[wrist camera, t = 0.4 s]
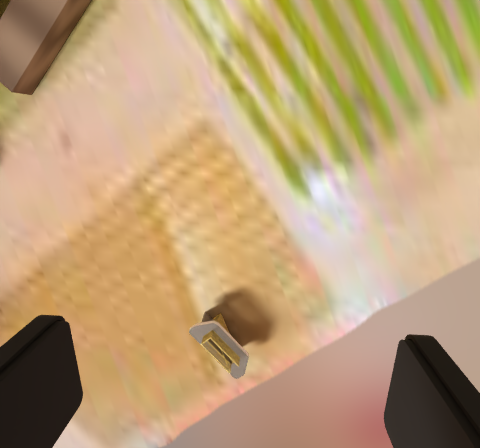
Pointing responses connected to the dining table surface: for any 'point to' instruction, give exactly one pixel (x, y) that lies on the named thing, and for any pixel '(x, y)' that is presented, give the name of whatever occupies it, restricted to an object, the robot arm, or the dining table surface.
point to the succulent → (221, 344)
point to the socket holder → (34, 39)
